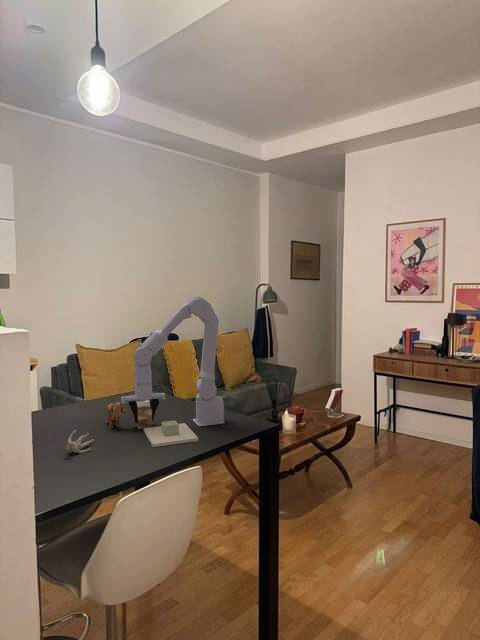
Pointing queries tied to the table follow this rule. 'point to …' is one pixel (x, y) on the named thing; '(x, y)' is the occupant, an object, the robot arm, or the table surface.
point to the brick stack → (144, 417)
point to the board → (166, 439)
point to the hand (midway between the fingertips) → (144, 421)
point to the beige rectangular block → (143, 403)
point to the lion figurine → (114, 413)
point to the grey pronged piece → (77, 444)
